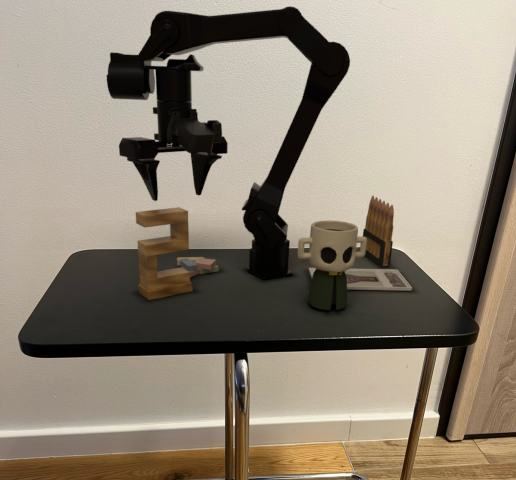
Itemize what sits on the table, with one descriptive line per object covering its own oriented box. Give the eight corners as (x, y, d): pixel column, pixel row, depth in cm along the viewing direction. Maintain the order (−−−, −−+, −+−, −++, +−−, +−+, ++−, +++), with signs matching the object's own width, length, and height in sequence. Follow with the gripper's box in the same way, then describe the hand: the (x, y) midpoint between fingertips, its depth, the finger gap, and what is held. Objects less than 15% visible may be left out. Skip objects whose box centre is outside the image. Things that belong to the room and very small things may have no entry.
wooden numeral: (181, 284, 94) (178, 206, 88) (192, 291, 91) (190, 211, 85) (138, 292, 90) (132, 211, 84) (148, 300, 87) (143, 216, 81)
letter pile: (207, 263, 105) (206, 253, 104) (221, 273, 100) (221, 263, 99) (167, 269, 101) (166, 258, 100) (180, 279, 96) (180, 268, 95)
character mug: (299, 316, 83) (305, 232, 77) (288, 299, 89) (293, 220, 83) (367, 313, 85) (377, 231, 79) (351, 296, 91) (360, 219, 85)
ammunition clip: (360, 251, 115) (367, 194, 110) (368, 251, 116) (375, 194, 111) (381, 267, 106) (389, 205, 101) (389, 267, 107) (398, 205, 101)
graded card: (308, 267, 102) (397, 269, 103) (308, 270, 103) (397, 272, 103) (315, 285, 93) (412, 287, 94) (315, 288, 94) (411, 290, 94)
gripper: (151, 104, 78) (156, 212, 85) (249, 104, 90) (246, 199, 96) (113, 100, 86) (121, 200, 92) (208, 100, 97) (208, 189, 104)
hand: (177, 197), depth 96 cm, fingers open, 9 cm apart
